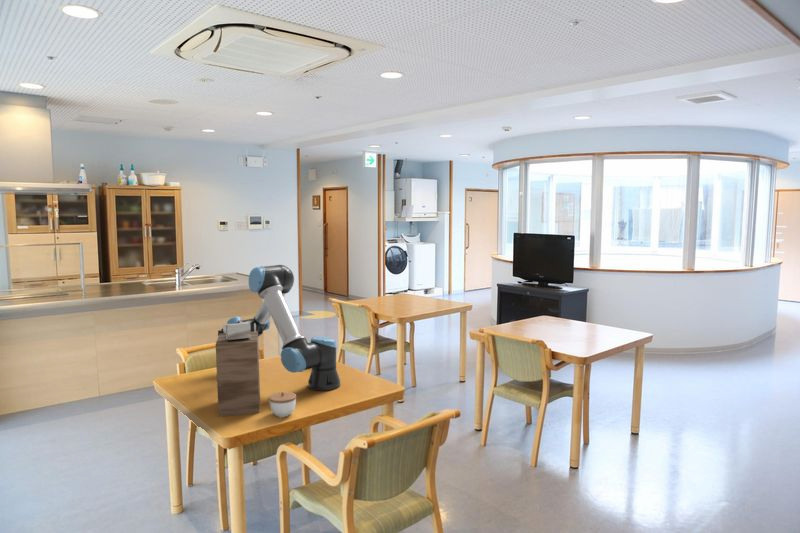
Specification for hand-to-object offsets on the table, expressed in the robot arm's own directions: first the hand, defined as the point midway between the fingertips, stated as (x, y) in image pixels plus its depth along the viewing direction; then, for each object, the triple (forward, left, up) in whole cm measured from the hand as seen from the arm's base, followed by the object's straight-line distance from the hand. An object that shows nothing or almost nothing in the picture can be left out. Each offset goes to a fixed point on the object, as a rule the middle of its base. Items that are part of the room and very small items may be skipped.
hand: (239, 326), depth 250 cm
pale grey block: (-7, +14, -1) cm, 16 cm away
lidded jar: (-34, +22, -30) cm, 50 cm away
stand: (-12, +19, -30) cm, 37 cm away
